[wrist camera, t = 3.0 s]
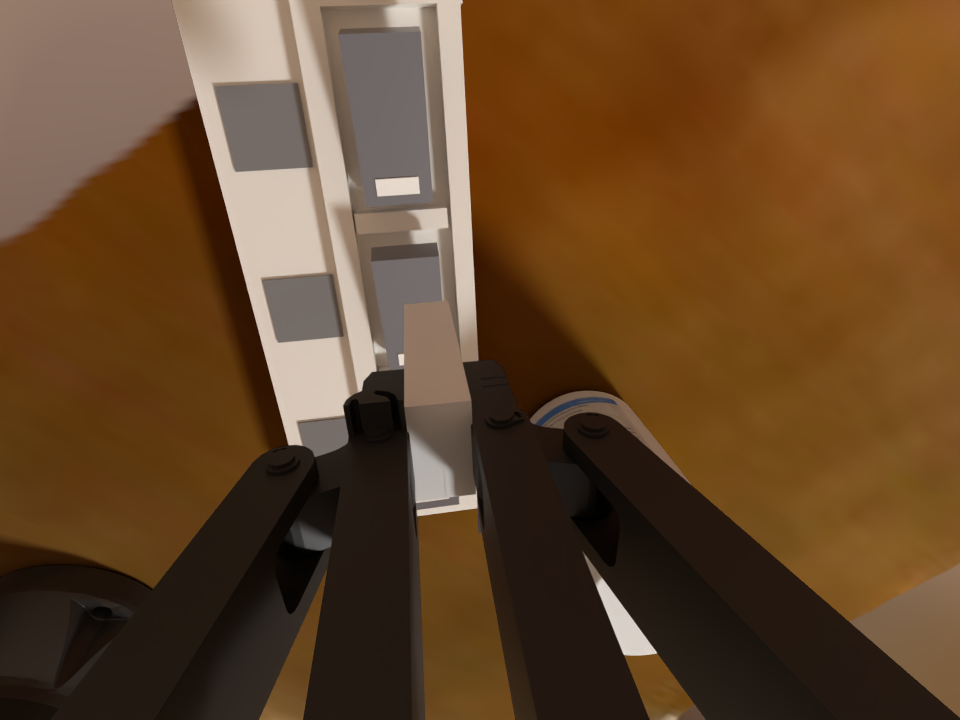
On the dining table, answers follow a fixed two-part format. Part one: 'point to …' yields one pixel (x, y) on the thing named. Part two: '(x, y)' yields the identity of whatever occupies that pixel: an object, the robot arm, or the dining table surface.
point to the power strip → (325, 190)
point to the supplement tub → (614, 407)
